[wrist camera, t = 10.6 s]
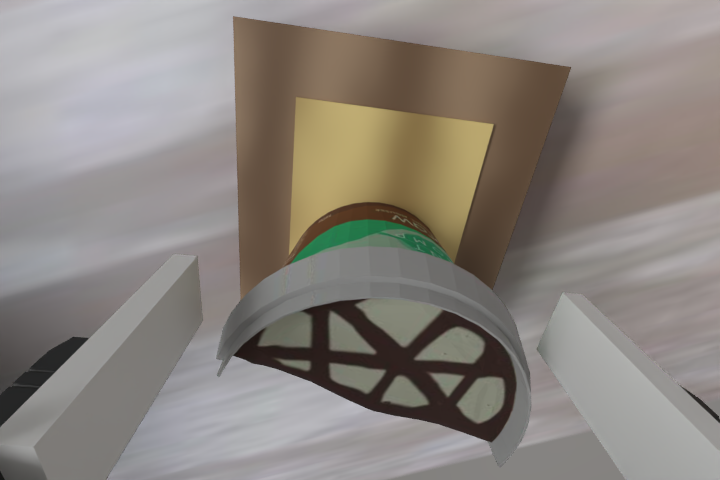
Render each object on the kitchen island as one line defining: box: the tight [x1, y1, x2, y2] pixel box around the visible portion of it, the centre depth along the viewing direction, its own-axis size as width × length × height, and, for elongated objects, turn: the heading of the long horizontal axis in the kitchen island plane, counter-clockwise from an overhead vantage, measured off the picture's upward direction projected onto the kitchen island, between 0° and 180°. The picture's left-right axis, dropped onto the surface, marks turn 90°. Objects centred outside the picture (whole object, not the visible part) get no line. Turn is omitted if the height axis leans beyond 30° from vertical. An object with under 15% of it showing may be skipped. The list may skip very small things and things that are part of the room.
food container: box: [216, 202, 531, 467], centre depth 15 cm, size 12×6×10 cm, turn 64°
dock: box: [233, 16, 571, 300], centre depth 21 cm, size 16×18×4 cm
